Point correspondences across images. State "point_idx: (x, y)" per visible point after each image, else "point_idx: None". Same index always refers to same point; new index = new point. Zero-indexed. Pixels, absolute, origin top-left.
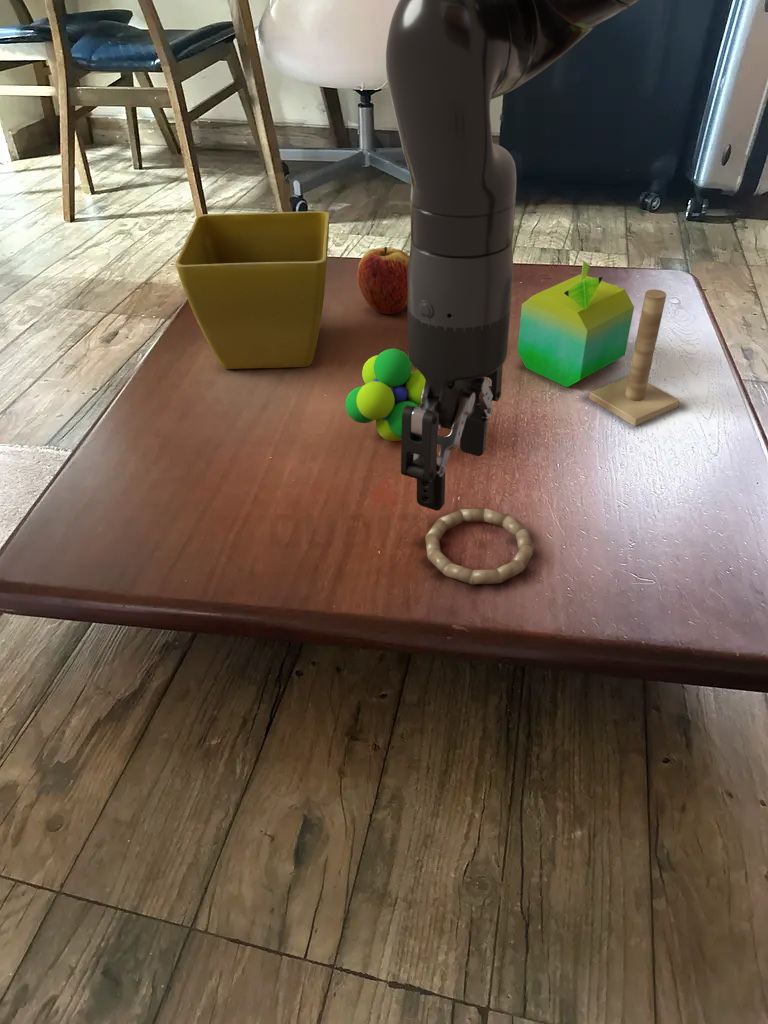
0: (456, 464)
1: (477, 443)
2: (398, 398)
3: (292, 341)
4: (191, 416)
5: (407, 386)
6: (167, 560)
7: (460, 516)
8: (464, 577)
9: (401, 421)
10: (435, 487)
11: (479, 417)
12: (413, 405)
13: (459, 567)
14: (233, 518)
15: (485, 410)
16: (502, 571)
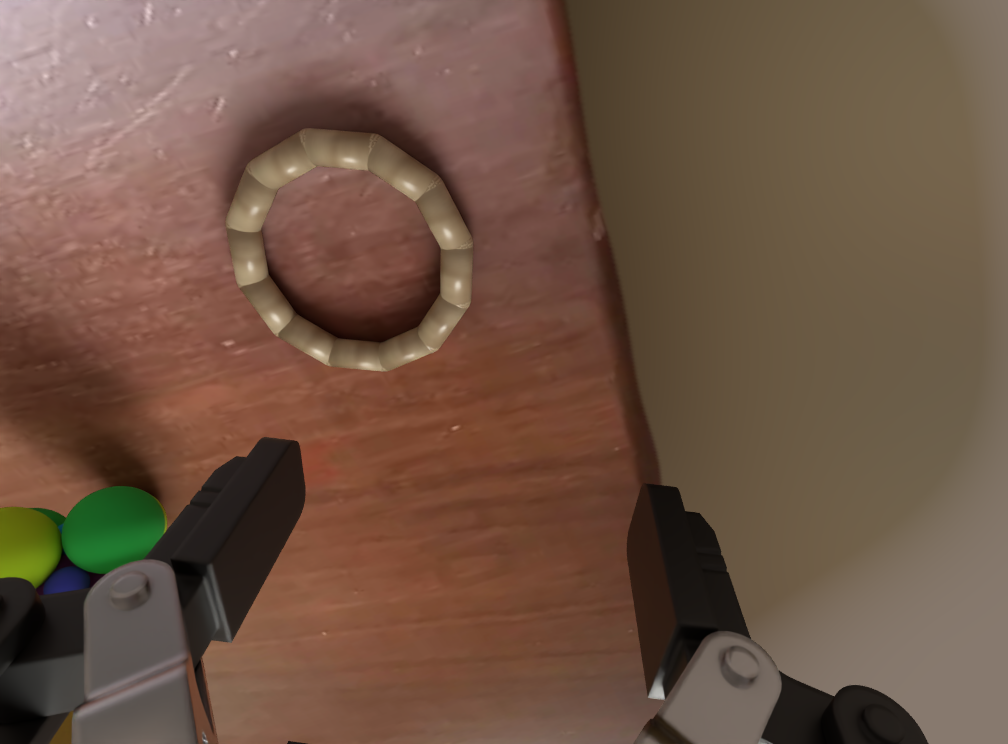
0: (133, 378)
1: (274, 490)
2: (83, 583)
3: (63, 735)
4: (304, 733)
5: (34, 587)
6: (599, 660)
7: (295, 326)
8: (470, 260)
9: (137, 544)
10: (710, 588)
11: (197, 596)
12: (76, 549)
13: (453, 281)
14: (481, 627)
15: (174, 637)
16: (421, 183)
